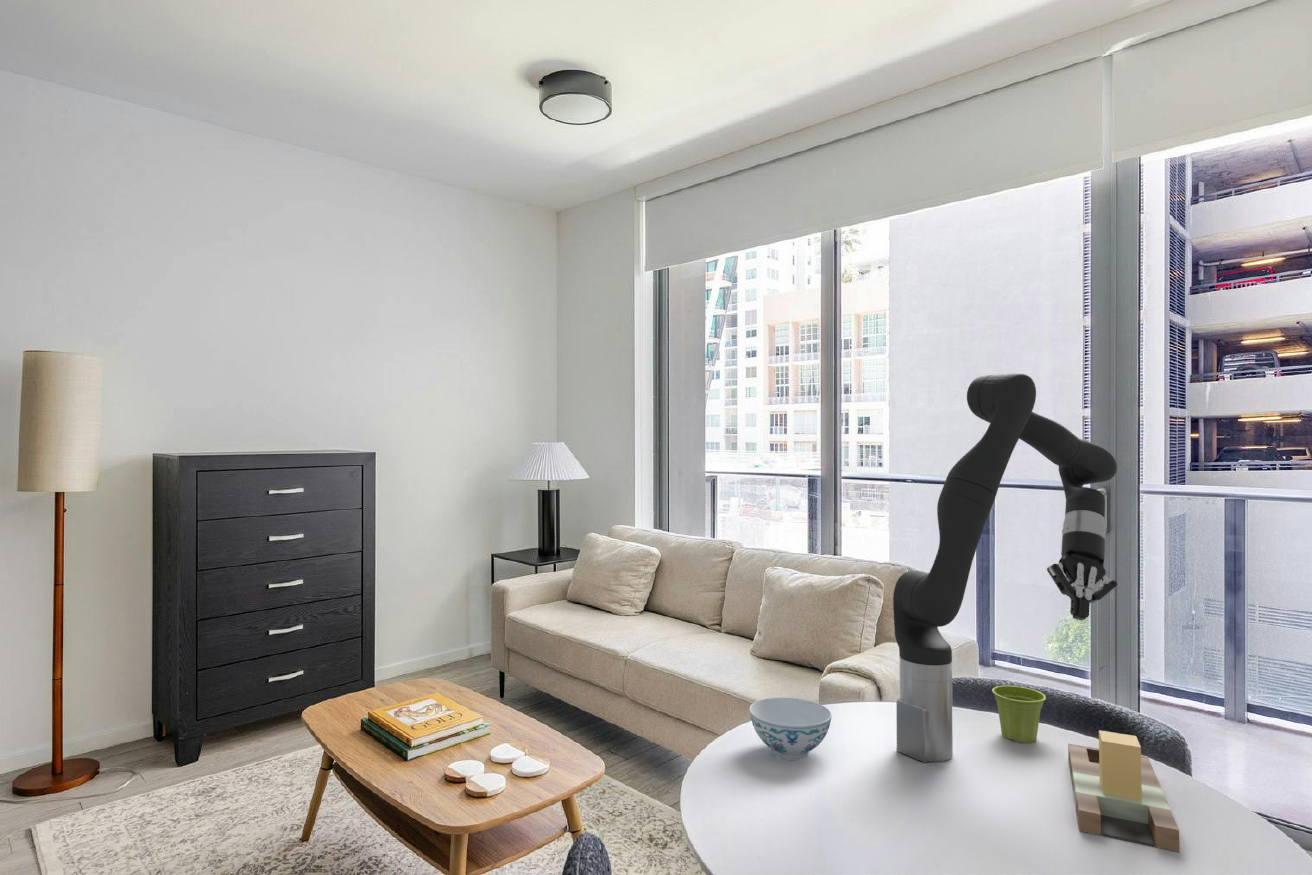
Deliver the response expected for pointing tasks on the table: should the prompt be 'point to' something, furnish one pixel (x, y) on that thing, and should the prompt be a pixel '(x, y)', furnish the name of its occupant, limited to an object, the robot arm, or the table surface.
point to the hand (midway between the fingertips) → (1079, 618)
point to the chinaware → (790, 725)
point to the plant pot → (1019, 712)
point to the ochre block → (1120, 765)
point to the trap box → (1120, 804)
